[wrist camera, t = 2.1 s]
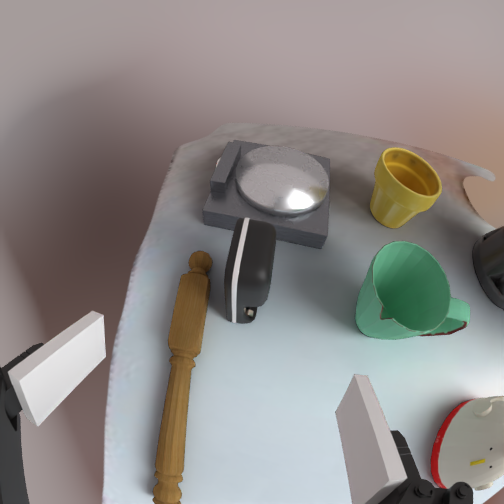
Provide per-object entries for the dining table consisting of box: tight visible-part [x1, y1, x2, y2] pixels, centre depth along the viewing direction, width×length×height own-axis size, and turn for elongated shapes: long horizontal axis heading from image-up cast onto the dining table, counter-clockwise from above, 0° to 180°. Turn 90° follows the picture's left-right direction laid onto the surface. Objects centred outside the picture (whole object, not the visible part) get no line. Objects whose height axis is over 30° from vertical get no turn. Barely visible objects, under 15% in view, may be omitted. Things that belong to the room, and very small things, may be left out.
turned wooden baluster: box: [153, 251, 212, 504], centre depth 26 cm, size 3×3×30 cm
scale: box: [203, 140, 330, 249], centre depth 39 cm, size 16×16×5 cm
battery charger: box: [224, 217, 276, 323], centre depth 27 cm, size 7×4×11 cm, turn 171°
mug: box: [355, 241, 470, 340], centre depth 27 cm, size 15×10×10 cm
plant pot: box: [370, 147, 442, 228], centre depth 37 cm, size 10×10×10 cm
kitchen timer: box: [431, 396, 504, 490], centre depth 15 cm, size 14×14×15 cm
